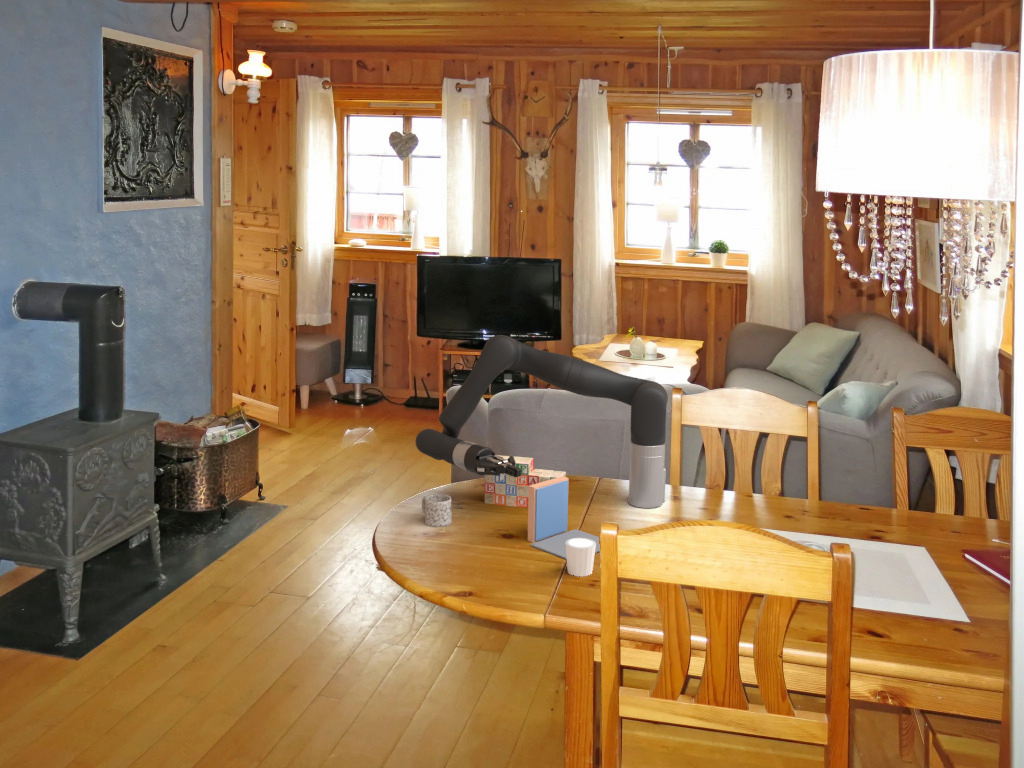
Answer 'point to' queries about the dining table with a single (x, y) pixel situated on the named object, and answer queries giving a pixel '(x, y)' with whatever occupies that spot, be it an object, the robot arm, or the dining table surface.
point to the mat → (563, 542)
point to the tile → (547, 508)
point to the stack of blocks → (516, 483)
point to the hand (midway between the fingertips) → (519, 473)
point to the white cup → (580, 556)
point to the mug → (437, 510)
